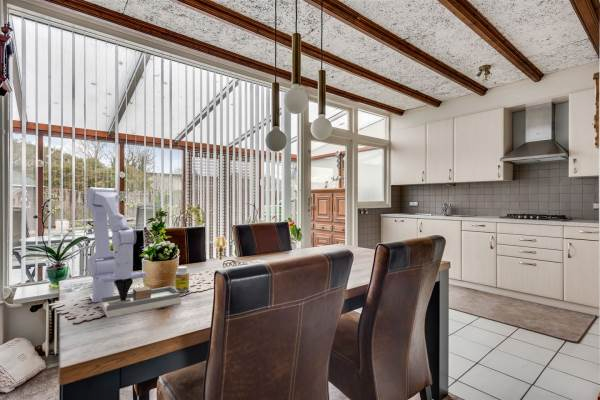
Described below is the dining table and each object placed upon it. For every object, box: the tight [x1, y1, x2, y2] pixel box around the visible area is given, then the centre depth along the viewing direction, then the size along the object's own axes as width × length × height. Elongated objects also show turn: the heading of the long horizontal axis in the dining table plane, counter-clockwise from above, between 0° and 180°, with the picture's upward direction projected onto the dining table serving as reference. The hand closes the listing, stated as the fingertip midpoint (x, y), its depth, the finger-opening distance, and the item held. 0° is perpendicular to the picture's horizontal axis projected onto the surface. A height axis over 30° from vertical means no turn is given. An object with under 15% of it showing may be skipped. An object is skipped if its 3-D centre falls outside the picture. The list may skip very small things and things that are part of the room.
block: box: [132, 285, 152, 301], centre depth 114 cm, size 5×5×4 cm
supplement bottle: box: [174, 265, 190, 293], centre depth 133 cm, size 6×6×10 cm
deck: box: [100, 285, 182, 319], centre depth 114 cm, size 14×24×4 cm, turn 130°
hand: (123, 300), depth 110 cm, fingers closed
